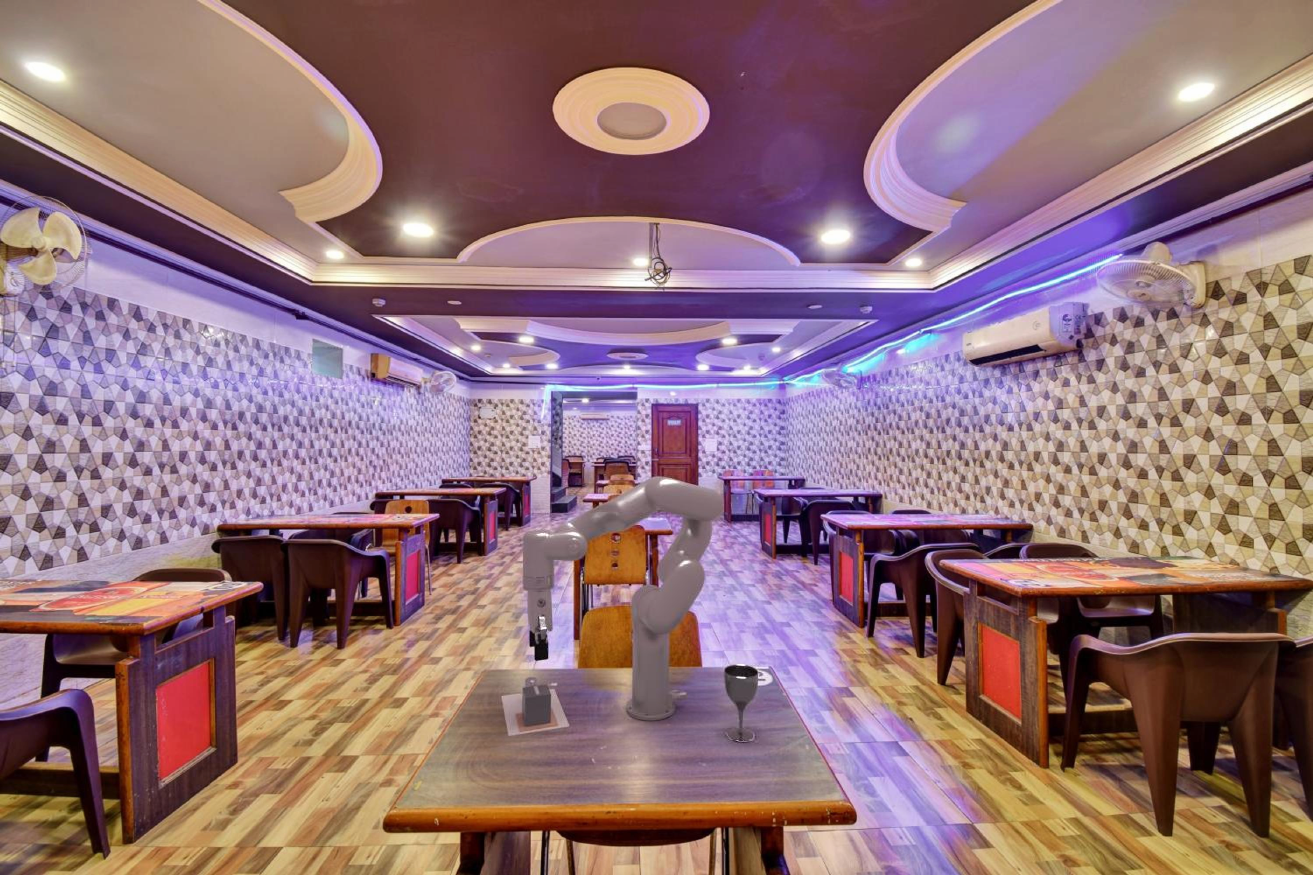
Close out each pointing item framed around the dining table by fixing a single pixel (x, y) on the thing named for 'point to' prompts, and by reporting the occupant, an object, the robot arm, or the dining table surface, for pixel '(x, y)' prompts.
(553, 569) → the robot arm
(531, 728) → the board
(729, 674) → the wine glass
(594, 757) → the dining table surface
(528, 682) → the post
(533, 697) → the dark grey block
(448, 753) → the dining table surface
